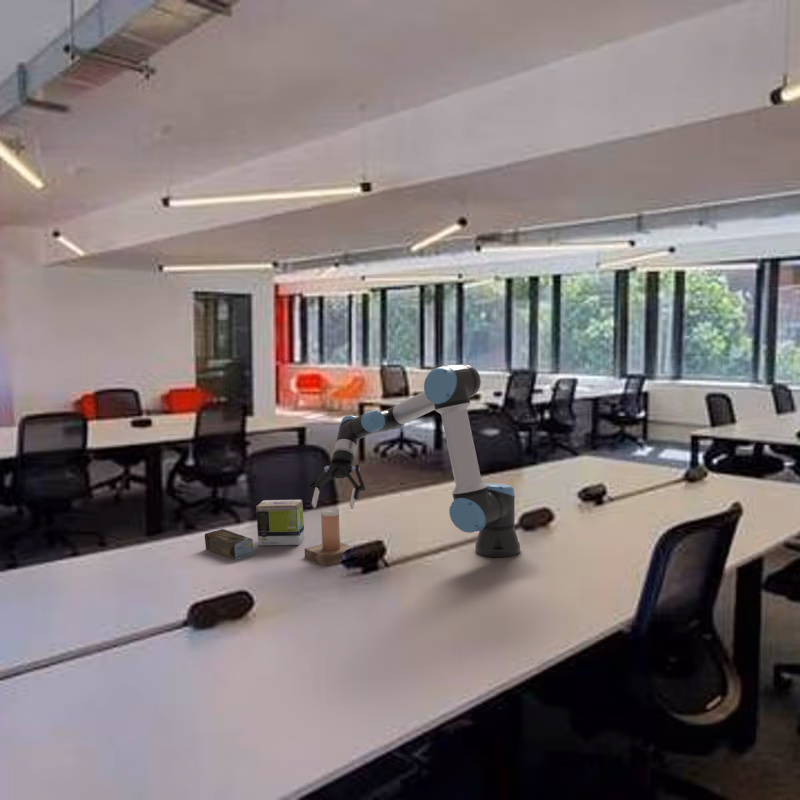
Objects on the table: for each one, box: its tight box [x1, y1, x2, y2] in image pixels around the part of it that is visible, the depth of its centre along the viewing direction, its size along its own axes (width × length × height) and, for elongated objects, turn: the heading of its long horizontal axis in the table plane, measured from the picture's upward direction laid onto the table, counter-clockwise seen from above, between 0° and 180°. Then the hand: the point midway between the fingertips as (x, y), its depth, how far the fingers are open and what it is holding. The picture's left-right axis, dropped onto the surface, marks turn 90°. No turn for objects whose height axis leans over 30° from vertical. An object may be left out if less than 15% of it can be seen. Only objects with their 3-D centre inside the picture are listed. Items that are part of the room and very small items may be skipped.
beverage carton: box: [204, 528, 254, 560], centre depth 272 cm, size 8×19×7 cm, turn 46°
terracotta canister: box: [320, 508, 341, 551], centre depth 262 cm, size 6×6×13 cm
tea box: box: [255, 499, 305, 546], centre depth 282 cm, size 15×10×15 cm
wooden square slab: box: [304, 541, 354, 566], centre depth 263 cm, size 13×13×3 cm
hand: (332, 506), depth 265 cm, fingers open, 13 cm apart
